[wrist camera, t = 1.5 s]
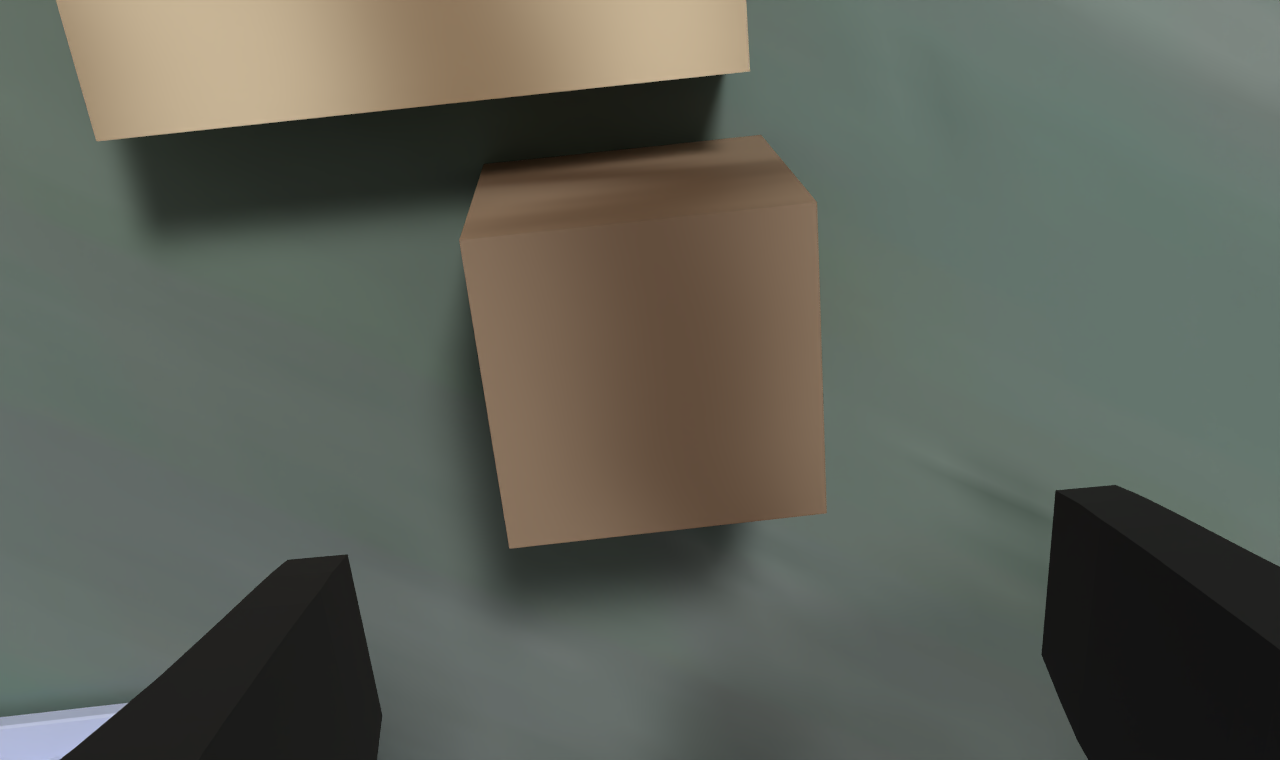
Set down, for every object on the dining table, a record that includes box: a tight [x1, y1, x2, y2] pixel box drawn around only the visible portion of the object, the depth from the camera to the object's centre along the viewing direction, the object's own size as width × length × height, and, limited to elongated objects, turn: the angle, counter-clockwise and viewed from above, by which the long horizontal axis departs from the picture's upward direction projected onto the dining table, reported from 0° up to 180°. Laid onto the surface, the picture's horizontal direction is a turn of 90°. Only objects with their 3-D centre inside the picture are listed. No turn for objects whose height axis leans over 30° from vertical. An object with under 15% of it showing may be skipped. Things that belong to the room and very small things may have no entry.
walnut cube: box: [459, 135, 827, 549], centre depth 19 cm, size 5×5×5 cm
